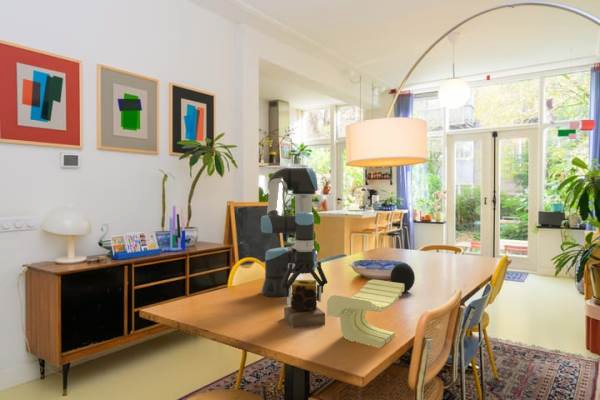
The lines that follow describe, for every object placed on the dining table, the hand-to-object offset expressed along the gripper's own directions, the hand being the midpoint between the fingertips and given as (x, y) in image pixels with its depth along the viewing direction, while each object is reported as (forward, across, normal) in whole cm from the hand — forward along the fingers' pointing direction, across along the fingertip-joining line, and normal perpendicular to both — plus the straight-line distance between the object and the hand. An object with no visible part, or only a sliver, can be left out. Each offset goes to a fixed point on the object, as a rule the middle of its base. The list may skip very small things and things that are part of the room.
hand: (304, 302), depth 162 cm
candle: (+2, 0, 0) cm, 2 cm away
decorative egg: (+8, +67, +25) cm, 72 cm away
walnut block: (+8, 0, 0) cm, 8 cm away
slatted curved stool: (+8, +14, -25) cm, 30 cm away
